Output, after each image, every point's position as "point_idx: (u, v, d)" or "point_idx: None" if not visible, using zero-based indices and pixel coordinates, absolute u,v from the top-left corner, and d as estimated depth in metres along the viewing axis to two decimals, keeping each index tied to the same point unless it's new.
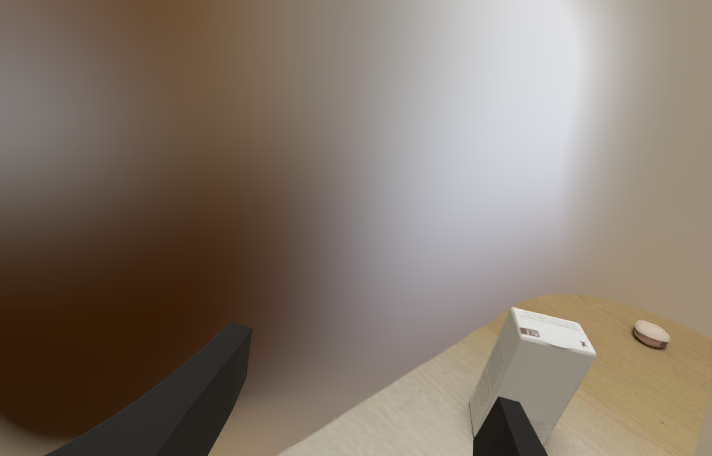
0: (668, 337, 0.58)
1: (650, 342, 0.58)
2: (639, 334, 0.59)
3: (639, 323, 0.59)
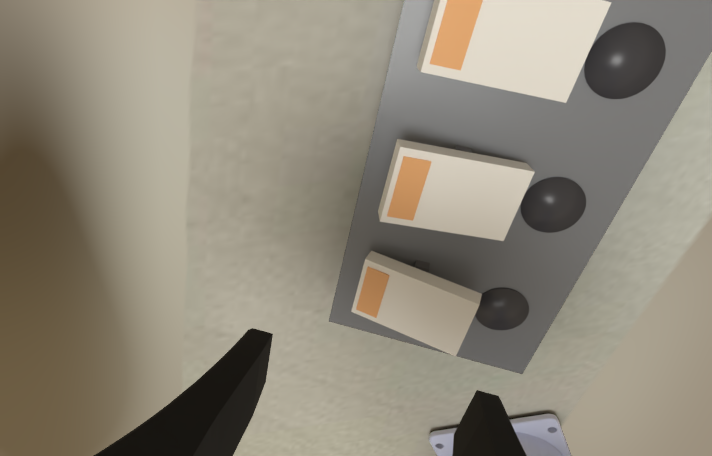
0: None
1: None
2: None
3: None
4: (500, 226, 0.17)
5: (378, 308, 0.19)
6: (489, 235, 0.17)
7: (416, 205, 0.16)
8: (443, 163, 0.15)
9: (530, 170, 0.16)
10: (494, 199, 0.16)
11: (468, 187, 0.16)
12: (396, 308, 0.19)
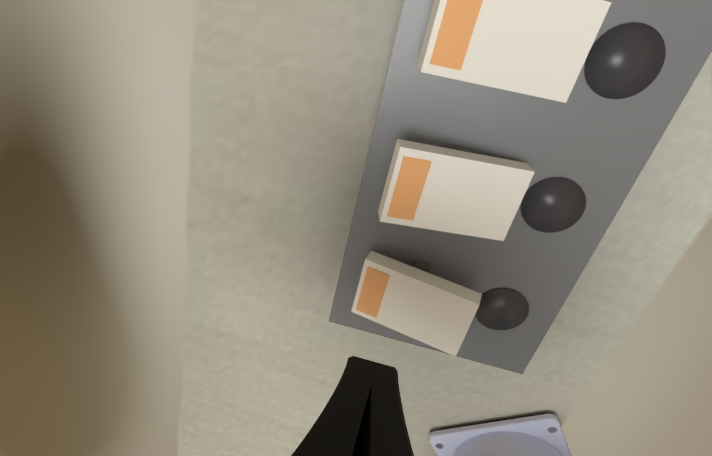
0: None
1: None
2: None
3: None
4: (500, 226, 0.17)
5: (378, 308, 0.19)
6: (489, 235, 0.17)
7: (416, 205, 0.16)
8: (443, 163, 0.15)
9: (530, 170, 0.16)
10: (494, 199, 0.16)
11: (468, 187, 0.16)
12: (396, 308, 0.19)
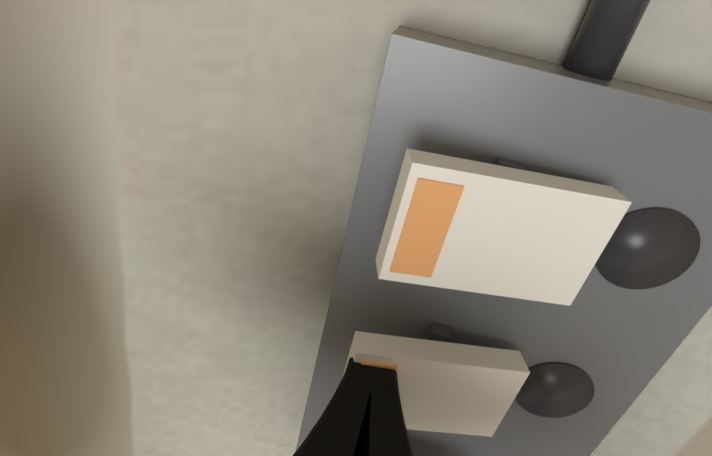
0: None
1: None
2: None
3: None
4: (487, 423, 0.13)
5: None
6: (474, 432, 0.14)
7: None
8: (412, 367, 0.12)
9: (524, 370, 0.12)
10: (479, 399, 0.13)
11: (446, 389, 0.12)
12: None
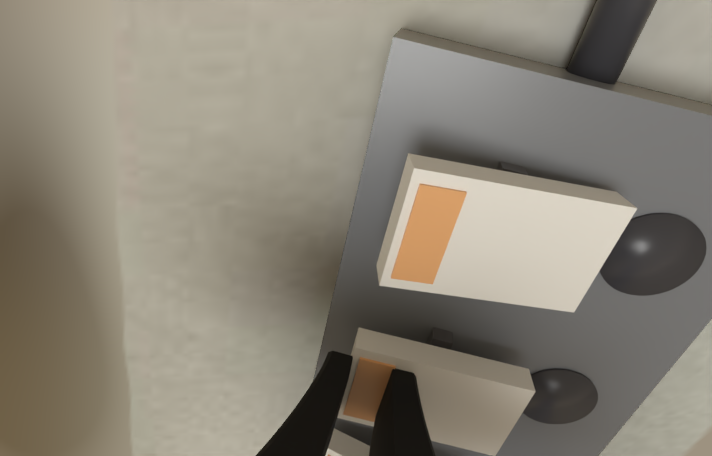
0: None
1: None
2: None
3: None
4: (489, 440, 0.13)
5: None
6: (476, 448, 0.13)
7: None
8: (410, 369, 0.12)
9: (529, 388, 0.12)
10: (481, 413, 0.12)
11: (445, 397, 0.12)
12: None
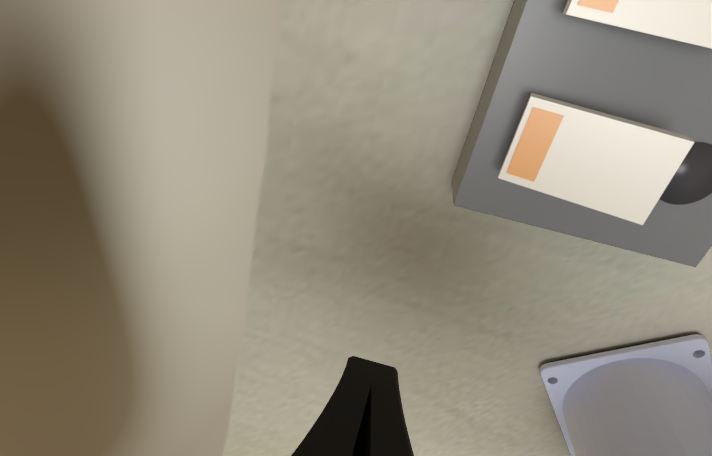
0: None
1: None
2: None
3: None
4: None
5: (537, 168, 0.15)
6: None
7: None
8: None
9: None
10: None
11: None
12: (565, 164, 0.15)
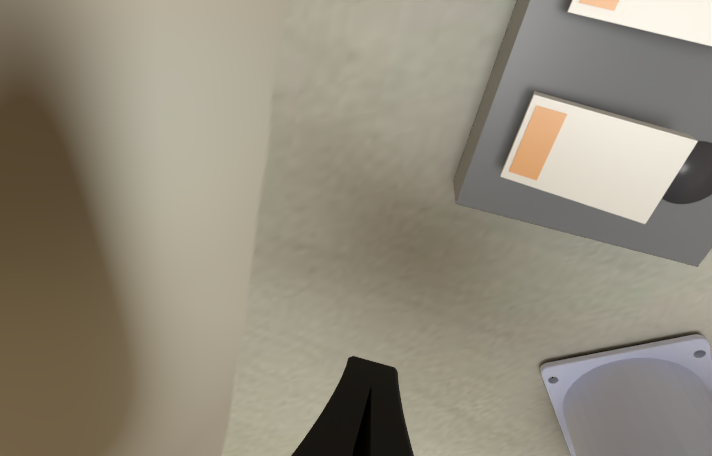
0: None
1: None
2: None
3: None
4: None
5: (540, 167, 0.15)
6: None
7: None
8: None
9: None
10: None
11: None
12: (568, 163, 0.15)
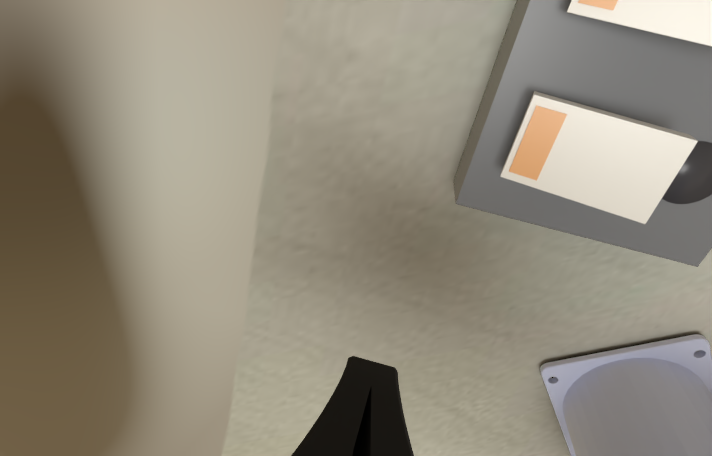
0: None
1: None
2: None
3: None
4: None
5: (540, 167, 0.15)
6: None
7: None
8: None
9: None
10: None
11: None
12: (568, 163, 0.15)
